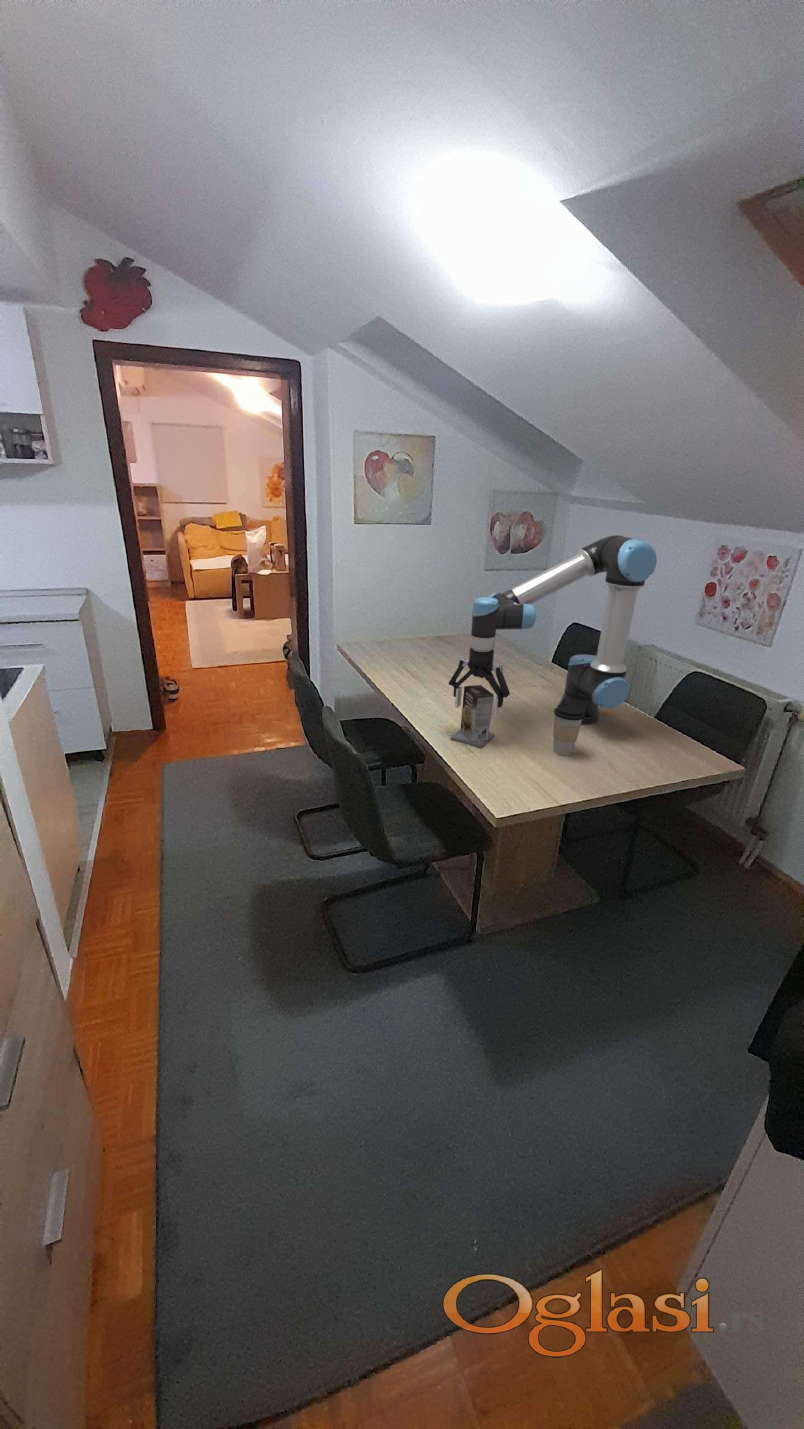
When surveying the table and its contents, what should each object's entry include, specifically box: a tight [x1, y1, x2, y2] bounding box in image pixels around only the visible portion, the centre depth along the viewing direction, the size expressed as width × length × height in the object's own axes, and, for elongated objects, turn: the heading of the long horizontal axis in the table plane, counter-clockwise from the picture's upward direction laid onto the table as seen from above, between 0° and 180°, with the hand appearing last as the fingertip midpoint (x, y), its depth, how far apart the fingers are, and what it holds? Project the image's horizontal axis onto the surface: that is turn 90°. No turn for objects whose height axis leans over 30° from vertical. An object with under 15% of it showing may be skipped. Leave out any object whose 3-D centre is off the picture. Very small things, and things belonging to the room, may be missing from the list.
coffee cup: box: [552, 704, 585, 756], centre depth 185 cm, size 9×9×15 cm
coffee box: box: [459, 684, 495, 742], centre depth 191 cm, size 9×6×16 cm
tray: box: [450, 729, 495, 749], centre depth 194 cm, size 11×11×1 cm
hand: (476, 711), depth 191 cm, fingers open, 13 cm apart
